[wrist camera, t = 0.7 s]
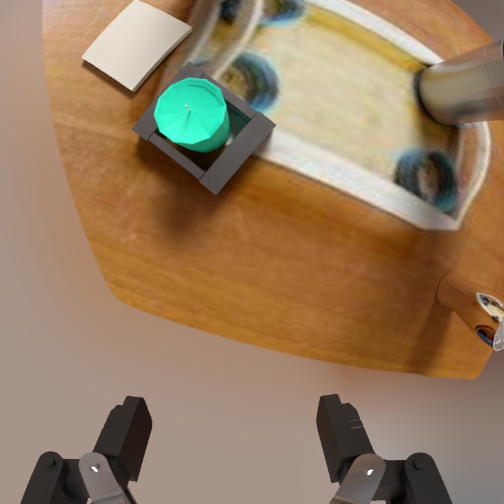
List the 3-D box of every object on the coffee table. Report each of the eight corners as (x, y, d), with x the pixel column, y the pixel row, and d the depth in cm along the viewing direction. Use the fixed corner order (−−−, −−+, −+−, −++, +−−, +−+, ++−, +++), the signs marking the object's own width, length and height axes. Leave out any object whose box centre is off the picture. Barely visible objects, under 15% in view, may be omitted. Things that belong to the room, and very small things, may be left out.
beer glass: (441, 266, 37) (506, 305, 22) (467, 269, 37) (527, 304, 23) (429, 307, 39) (485, 355, 24) (455, 307, 39) (509, 349, 25)
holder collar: (193, 70, 28) (189, 61, 25) (273, 129, 31) (276, 125, 28) (140, 132, 30) (131, 129, 27) (217, 193, 33) (215, 195, 30)
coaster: (137, 2, 24) (135, -1, 23) (192, 30, 27) (191, 27, 26) (84, 59, 26) (81, 57, 25) (134, 92, 29) (131, 90, 28)
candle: (181, 156, 31) (150, 148, 20) (178, 108, 30) (147, 78, 18) (232, 150, 31) (228, 137, 20) (228, 102, 30) (222, 66, 18)
